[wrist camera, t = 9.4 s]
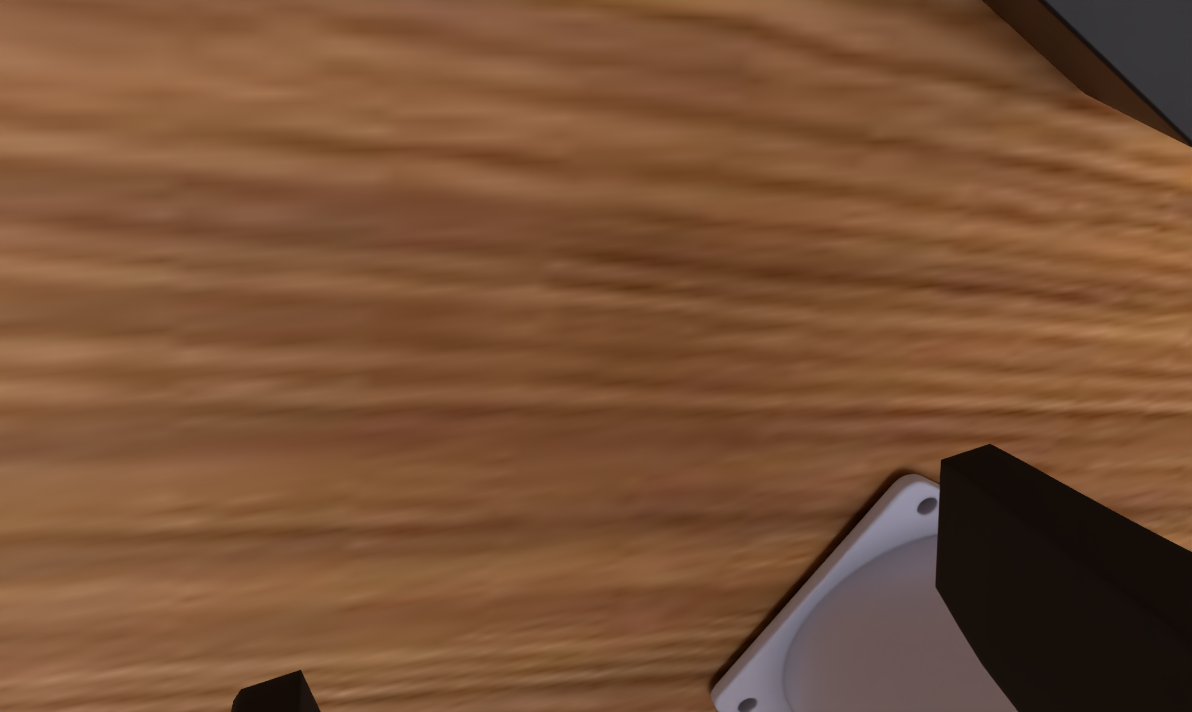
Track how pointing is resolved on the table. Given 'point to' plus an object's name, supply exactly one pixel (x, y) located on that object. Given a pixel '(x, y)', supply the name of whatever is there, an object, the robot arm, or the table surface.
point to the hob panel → (1117, 53)
